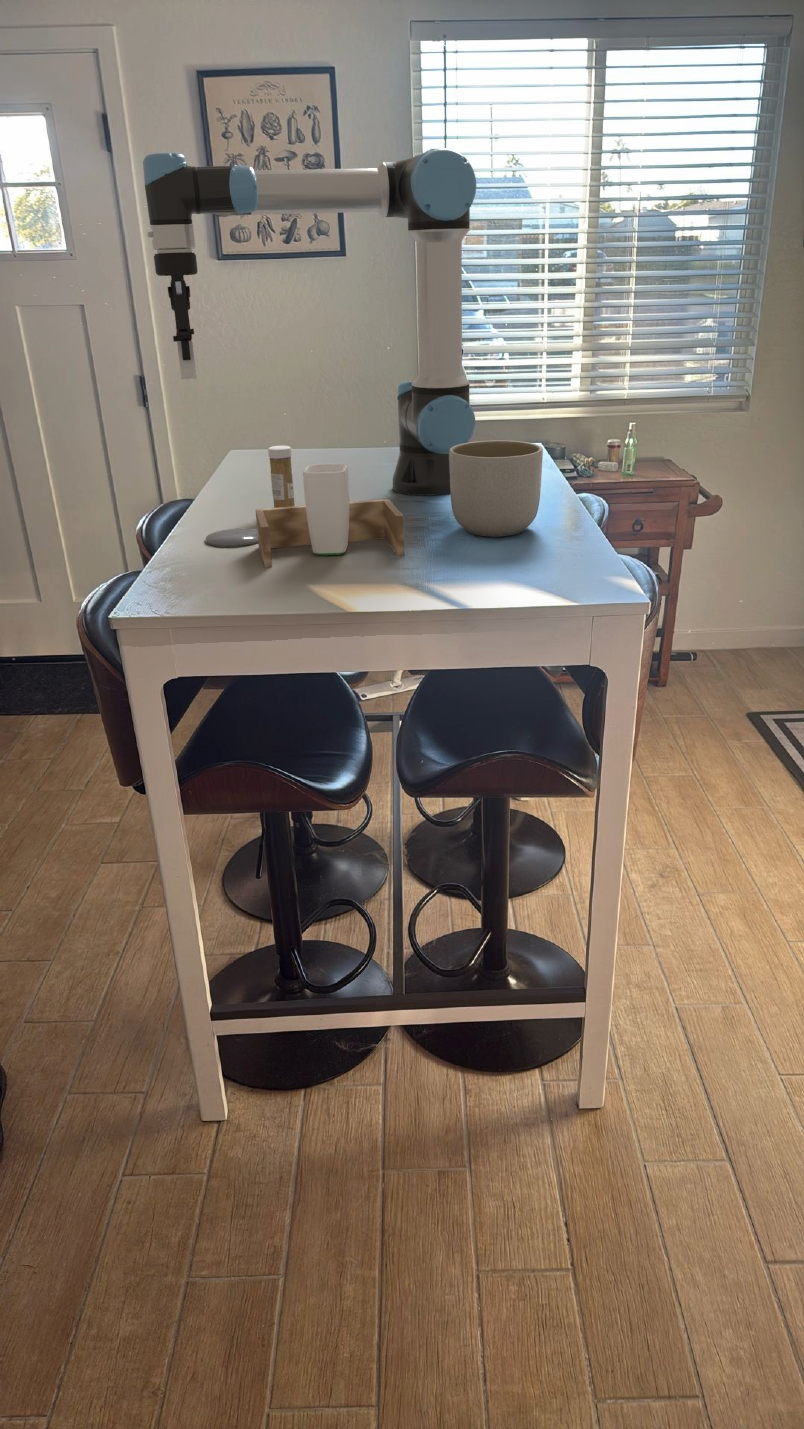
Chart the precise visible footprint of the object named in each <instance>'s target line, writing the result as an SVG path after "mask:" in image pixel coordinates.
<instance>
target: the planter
mask: <svg viewBox="0 0 804 1429" xmlns="http://www.w3.org/2000/svg"><path fill="white" fill-rule="evenodd" d="M543 449H544V448H543V447H542V446H541V445H539V444H536V443H533V442H527V441H519V440H505V439H504V440H503V439H502V440H501V439H500V440H499V439H498V440H494V439H493V440H479V441H469V442H468V443H463V444H459V445H456V446H453V447H451V448H450V449H449V470H450V493H449V494H450V504H451V511H452V514H453V517H454V519H455V521H456V522H457V524H458V525H459V526H460V527H461V528H462V529H464V530H465V531H466V532H468V533H469V534H472V535H476V536H480V537H488V538H490V537H491V538H498V537H499V538H500V537H508V536H514V535H517V534H520V533H522V532H523V531H524V530H526V529H527V528H528V527H529V526H530V525H531V524H533V522H534V521H535V520H536V517H537V515H538V511H539V508H540V498H541V489H542V472H543V471H542V470H543V460H544V459H543V458H544V457H543V454H544V450H543Z"/></svg>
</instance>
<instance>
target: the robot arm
mask: <svg viewBox="0 0 804 1429" xmlns="http://www.w3.org/2000/svg"><path fill="white" fill-rule="evenodd" d="M142 164H143V166H142V167H143V168H142V169H143V177H144V178H143V179H144V181H143V182H144V190H145V195H146V196H145V197H146V204H147V205H146V206H147V212H148V220H149V225H150V230H152V231H148V232H147V237H148V238H153V239H152V240H151V242H152V249H153V250H154V251H156V253H154V255H153V261H154V269H155V274H156V276H160V277H170V278H171V280H170V286H167V295H168V298H169V299H170V307H171V310H172V311H174V312H173V313H174V319H175V329H176V330H175V331H176V335H173V336H172V339H173V343H176V345H177V351H178V361H179V369H180V371H179V372H180V376H181V377H180V379H181V380H191V379H192V380H195V379H197V373H196V371H197V370H196V364H195V354H194V353H195V352H194V345H193V336H192V335H195V329H194V328H191V324H190V322H191V321H190V317H189V316H190V315H189V310H191V302H190V301H191V300H190V298H191V290H190V285H187V283H186V281H185V277H184V276H192V275H193V276H194V275H195V276H196V274H198V263H197V254H195V252H193V250H194V249H195V248H196V242H195V241H196V240H195V232H194V230H195V229H194V224H193V219H192V218H193V216H192V215H193V214H194V215H203V214H204V215H205V214H207V215H209V214H211V215H213V216H215V217H223V218H226V217H230V216H251V215H252V216H253V215H254V216H255V215H257V216H258V215H259V216H260V215H292V214H293V215H295V214H297V215H298V214H300V215H301V214H302V215H303V214H337V213H340V214H341V213H378V214H379V215H380V216H381V217H382V218H401V219H407V233H408V234H409V235H410V236H411V237H412V239H413V240H414V241H415V242H416V246H415V247H416V288H417V289H416V290H417V295H416V296H417V331H418V332H417V334H418V335H417V336H418V340H417V342H418V374H417V376H416V378H414V380H411V381H410V380H409V381H402V382H401V383H399V384H398V387H397V396H396V399H397V406H398V407H397V408H398V410H397V411H398V441H399V442H398V443H399V444H398V445H399V454H398V455H399V456H398V458H397V463H396V466H395V468H394V473H393V477H392V490H393V491H394V492H396V493H399V494H404V495H411V496H437V495H443V494H445V495H446V494H450V470H449V449H450V448H451V447H453V446H456V445H459V444H463V443H469V442H471V440H472V437H473V435H474V432H475V429H476V416H475V412H474V409H473V407H472V406H471V404H470V381H469V379H468V378H466V376H465V375H463V365H462V364H463V362H462V361H463V353H462V352H463V350H462V348H463V344H462V343H463V342H462V341H463V337H462V336H463V323H462V322H463V317H462V316H463V312H462V311H463V310H462V309H463V304H462V302H463V299H462V297H463V296H462V295H463V292H462V291H463V289H462V288H463V287H462V286H463V285H462V284H463V283H462V281H463V280H462V279H463V278H462V277H463V276H462V275H463V274H462V270H463V269H462V265H463V264H462V263H463V262H462V260H463V259H462V256H463V255H462V249H463V248H462V247H463V245H462V241H463V239H464V238H465V236H466V235H467V234H468V233H469V232H470V228H471V226H470V223H471V222H470V221H471V220H470V219H471V217H470V215H471V213H470V212H471V211H470V210H471V207H472V205H473V202H474V200H475V197H476V193H477V179H476V174H475V171H474V169H473V166H472V164H471V163H470V162H469V160H468V159H467V158H466V157H465V155H463V154H462V153H461V152H460V151H459V152H458V151H456V150H455V149H452V148H443V147H438V148H430V149H428V150H426V151H425V152H424V153H421V154H418V155H415V156H412V157H410V158H407V159H403V160H397V161H382V162H380V163H379V165H378V166H377V167H371V168H368V167H366V168H319V169H315V168H314V169H313V168H312V169H311V168H310V169H272V170H271V169H269V170H264V169H263V170H255V169H254V168H253V167H252V166H250V165H237V164H233V165H210V166H192V165H188V162H187V159H186V157H185V155H184V154H182V153H177V152H176V153H175V152H174V153H173V152H172V153H171V152H157V153H155V152H154V153H149V154H147V155H146V156H145V157H144V158H143V161H142Z"/></svg>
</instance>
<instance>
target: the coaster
mask: <svg viewBox="0 0 804 1429" xmlns="http://www.w3.org/2000/svg"><path fill="white" fill-rule="evenodd" d="M205 542H206V544H207V545H209V546H210V547H211V546H212V547H216V548H239V547H240V548H242V547H248V546H253V545H256V544H259V543H258V532H257V529H255V528H230V529H224V530H223V529H222V530H218V531H214V532H212V533H209V534H207V535H206V537H205Z"/></svg>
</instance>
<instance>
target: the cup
mask: <svg viewBox="0 0 804 1429" xmlns="http://www.w3.org/2000/svg"><path fill="white" fill-rule="evenodd" d="M302 477H303V478H302V479H303V480H302V481H303V491H304V492H303V493H304V501H305V502H304V503H305V505H304V506H306V513H307V521H308V528H309V534H310V539H311V544H312V545H311V548H312V553H313V554H315V555H317V556H341V555H343V554H344V553H345V552H346V551H347V548H348V546H349V544H348V543H349V542H348V534H349V502H350V488H349V487H350V486H349V484H350V483H349V466H348V464H345V463H315V464H314V463H313V464H308V465H307V466H306V467H305V468H304V469H303V471H302Z"/></svg>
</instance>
